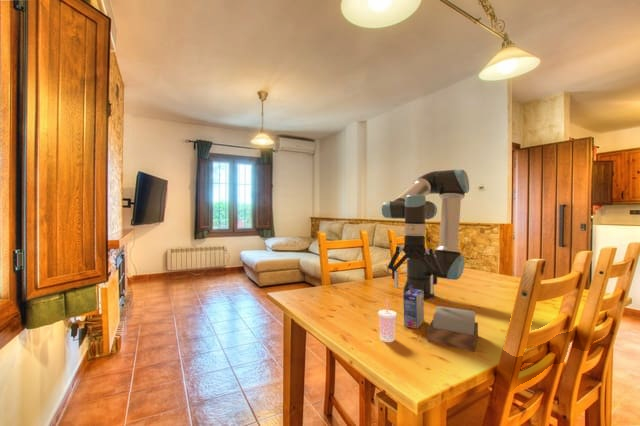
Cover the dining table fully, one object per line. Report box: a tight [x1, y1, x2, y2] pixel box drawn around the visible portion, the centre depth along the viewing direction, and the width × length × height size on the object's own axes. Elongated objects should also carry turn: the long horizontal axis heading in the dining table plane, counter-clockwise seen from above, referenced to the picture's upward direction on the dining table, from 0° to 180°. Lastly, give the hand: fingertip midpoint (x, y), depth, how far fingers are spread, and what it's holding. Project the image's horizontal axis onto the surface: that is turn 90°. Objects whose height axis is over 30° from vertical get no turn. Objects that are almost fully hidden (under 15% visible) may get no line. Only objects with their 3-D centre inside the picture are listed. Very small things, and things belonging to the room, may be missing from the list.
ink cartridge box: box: [402, 285, 425, 330], centre depth 114 cm, size 10×6×14 cm, turn 147°
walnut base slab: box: [427, 319, 479, 353], centre depth 101 cm, size 14×14×5 cm
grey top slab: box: [432, 305, 476, 336], centre depth 101 cm, size 12×12×4 cm
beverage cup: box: [377, 297, 397, 343], centre depth 100 cm, size 6×6×14 cm
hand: (413, 290), depth 114 cm, fingers open, 13 cm apart
